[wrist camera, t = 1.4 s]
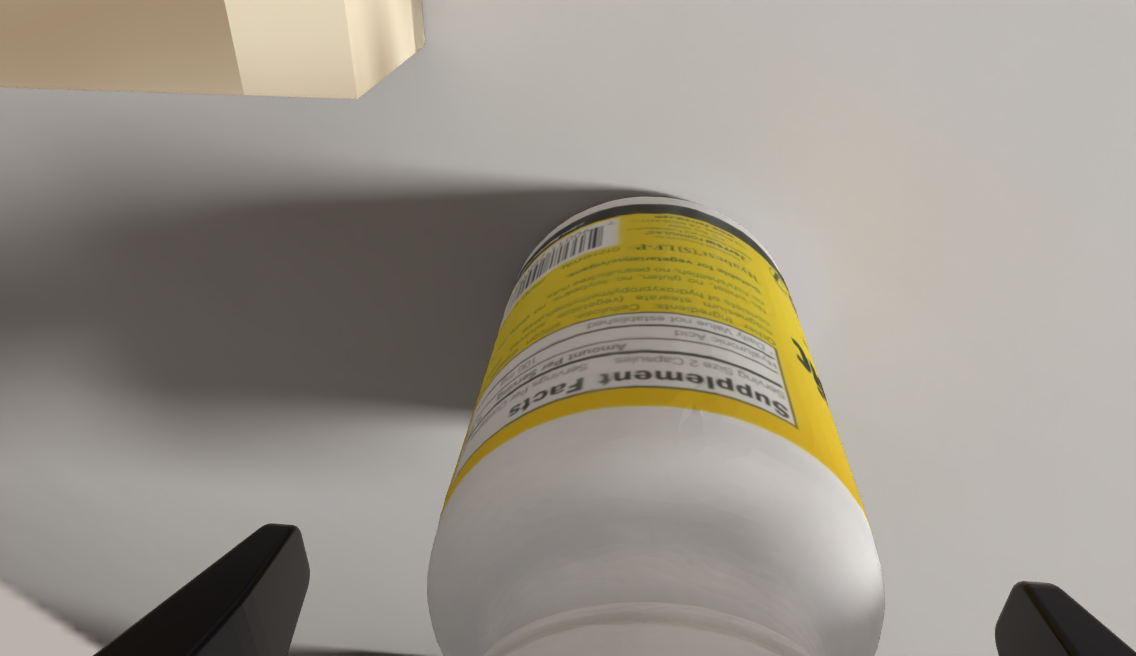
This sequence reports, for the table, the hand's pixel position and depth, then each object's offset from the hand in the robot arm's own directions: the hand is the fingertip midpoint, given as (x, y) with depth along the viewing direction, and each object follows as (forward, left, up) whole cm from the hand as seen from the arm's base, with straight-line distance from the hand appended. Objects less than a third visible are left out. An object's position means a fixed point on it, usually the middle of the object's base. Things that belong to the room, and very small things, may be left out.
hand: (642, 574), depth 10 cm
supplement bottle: (0, 0, -7) cm, 7 cm away
